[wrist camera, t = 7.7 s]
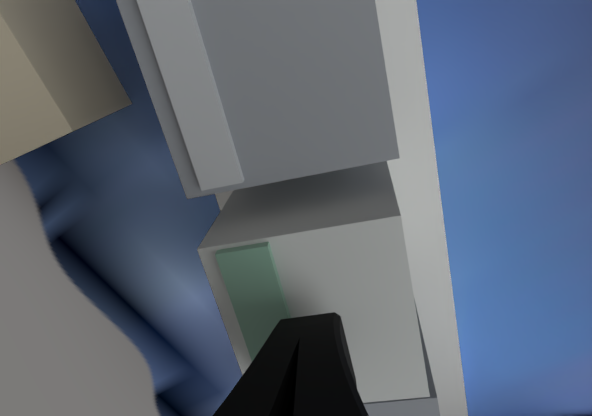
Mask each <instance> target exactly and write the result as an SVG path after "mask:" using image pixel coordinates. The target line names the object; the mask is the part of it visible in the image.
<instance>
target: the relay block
mask: <svg viewBox="0 0 592 416" xmlns="http://www.w3.org/2000/svg"><path fill="white" fill-rule="evenodd" d="M131 104H132V102H131V101H130V99H129V97H128V95H127V93H126V92H125V90H124V88H123V86H122V84H121V83H120V81H119V79H118V77H117V75H116V74H115V72H114V70H113V68H112V66H111V65H110V63H109V61H108V59H107V57H106V56H105V54H104V52H103V50H102V49H101V47H100V45H99V43H98V41H97V40H96V38H95V36H94V34H93V32H92V31H91V29H90V27H89V25H88V23H87V22H86V20H85V18H84V16H83V14H82V13H81V11H80V9H79V7H78V5H77V4H76V2H75V0H0V165H2V164H4V163H6V162H8V161H10V160H13V159H15V158H17V157H19V156H21V155H23V154H26V153H28V152H30V151H32V150H34V149H37V148H39V147H41V146H43V145H45V144H47V143H50V142H52V141H54V140H56V139H58V138H60V137H62V136H65V135H67V134H69V133H71V132H73V131H75V130H77V129H80V128H82V127H84V126H86V125H88V124H90V123H92V122H95V121H97V120H99V119H101V118H103V117H105V116H107V115H110V114H112V113H114V112H116V111H118V110H120V109H122V108H125V107H127V106H129V105H131Z"/></svg>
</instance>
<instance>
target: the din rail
mask: <svg viewBox="0 0 592 416" xmlns="http://www.w3.org/2000/svg"><path fill="white" fill-rule="evenodd" d="M116 2H117V4H118V7H119V10H120V13H121V16H122V18H123V21H124V24H125V27H126V30H127V32H128V35H129V38H130V41H131V44H132V46H133V49H134V52H135V55H136V58H137V60H138V63H139V66H140V69H141V72H142V74H143V77H144V80H145V83H146V86H147V88H148V91H149V94H150V97H151V100H152V102H153V105H154V108H155V111H156V114H157V116H158V119H159V122H160V125H161V128H162V130H163V133H164V136H165V139H166V142H167V144H168V147H169V150H170V153H171V156H172V158H173V161H174V164H175V167H176V170H177V172H178V175H179V178H180V181H181V184H182V186H183V189H184V192H185V195H186V198H187V199H191V198H196V197H201V196H206V195H211V194H215V196H216V199H217V202H218V205H219V208H220V211H221V210H222V208H223V207H224V205H225V203H226V202H227V200H228V199H229V197H230V195H231V194H232V192H233V190H237V189H243V188H248V187H253V186H258V185H263V184H269V183H274V182H279V181H284V180H289V179H295V178H300V177H305V176H310V175H315V174H321V173H326V172H331V171H336V170H341V169H347V168H352V167H357V166H362V165H367V164H373V163H378V162H383V161H387V164H388V168H389V172H390V176H391V179H392V183H393V187H394V191H395V195H396V199H397V203H398V206H399V210H400V214H401V220H402V226H403V232H404V238H405V245H406V251H407V257H408V263H409V269H410V276H411V282H412V288H413V294H414V301H415V307H416V313H417V319H418V325H419V332H420V338H421V344H422V350H423V357H424V363H425V369H426V375H427V381H428V388H429V394H430V397H421V398H410V399H399V400H388V401H377V402H366V403H363V404H364V406H365V409H366V411H367V413H368V415H369V416H468V411H467V403H466V395H465V387H464V379H463V371H462V363H461V355H460V347H459V339H458V331H457V323H456V315H455V307H454V299H453V291H452V283H451V275H450V267H449V259H448V251H447V243H446V235H445V227H444V219H443V211H442V203H441V195H440V187H439V179H438V171H437V163H436V155H435V147H434V139H433V131H432V123H431V115H430V107H429V99H428V91H427V83H426V75H425V67H424V59H423V51H422V43H421V35H420V27H419V19H418V11H417V3H416V0H116Z"/></svg>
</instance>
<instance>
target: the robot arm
mask: <svg viewBox="0 0 592 416" xmlns="http://www.w3.org/2000/svg"><path fill="white" fill-rule="evenodd" d="M213 416H369V415H368V413H367V411H366V409H365V406H364V404H363V402H362V400H361V397H360V395H359V392H358V390H357V384H356V377H355V373H354V369H353V365H352V361H351V357H350V353H349V349H348V344H347V340H346V336H345V332H344V328H343V324H342V320H341V316H340V315H338V314H337V313H335V312H332V313H325V314H317V315H310V316H302V317H295V318H287V319H281V320H280V321H279V322H278V323H277V325H276V326H275V328H274V329H273V331H272V332H271V334H270V335H269V337H268V338H267V340H266V341H265V343H264V345H263V346H262V348H261V349H260V351H259V352H258V354H257V355H256V357H255V358H254V360H253V361H252V363H251V364H250V366H249V367H248V368H247V370H246V371H245V373H244V374H243V376H242V377H241V378H240V380H239V381H238V383H237V384H236V385H235V387H234V388H233V390H232V391H231V393H230V394H229V395H228V397H227V398H226V399H225V401H224V402H223V403H222V404H221V406H220V407H219V408H218V410H217V411H216V412H215V413H214V415H213Z"/></svg>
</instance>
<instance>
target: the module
mask: <svg viewBox="0 0 592 416" xmlns="http://www.w3.org/2000/svg"><path fill="white" fill-rule="evenodd" d="M197 251H198V253H199V256H200V259H201V262H202V264H203V267H204V270H205V273H206V275H207V278H208V281H209V284H210V287H211V289H212V292H213V295H214V298H215V300H216V303H217V306H218V309H219V311H220V314H221V317H222V320H223V323H224V325H225V328H226V331H227V334H228V336H229V339H230V342H231V345H232V347H233V350H234V353H235V356H236V358H237V361H238V364H239V367H240V370H241V372H242V375H243V374H244V373H245V371H246V370H247V368H248V367H249V366H250V364H251V363H252V361H253V360H254V358H255V357H256V355H257V354H258V352H259V351H260V349H261V348H262V346H263V345H264V343H265V341H266V340H267V338H268V337H269V335H270V334H271V332H272V331H273V329H274V328H275V326H276V325H277V323H278V322H279V321H280V320H281V319H287V318H295V317H302V316H310V315H317V314H325V313H332V312H335V313H337V314H338V315H340V316H341V320H342V324H343V328H344V332H345V336H346V340H347V344H348V349H349V353H350V357H351V361H352V365H353V369H354V373H355V377H356V384H357V390H358V392H359V395H360V397H361V400H362V402H363V403H366V402H377V401H388V400H399V399H410V398H421V397H430V394H429V388H428V381H427V375H426V369H425V363H424V357H423V350H422V344H421V338H420V332H419V325H418V319H417V313H416V307H415V301H414V294H413V288H412V282H411V276H410V269H409V263H408V257H407V251H406V245H405V238H404V232H403V226H402V220H401V214H400V210H399V206H398V203H397V199H396V195H395V191H394V187H393V183H392V179H391V176H390V172H389V168H388V164H387V161H383V162H378V163H373V164H367V165H362V166H357V167H352V168H347V169H341V170H336V171H331V172H326V173H321V174H315V175H310V176H305V177H300V178H295V179H289V180H284V181H279V182H274V183H269V184H263V185H258V186H253V187H248V188H243V189H237V190H233V192H232V194H231V195H230V197H229V199H228V200H227V202H226V203H225V205H224V207H223V208H222V210H221V211H220V213H219V215H218V216H217V218H216V220H215V221H214V223H213V224H212V226H211V228H210V229H209V231H208V232H207V234H206V236H205V237H204V239H203V240H202V242H201V244H200V245H199V247H198V249H197Z"/></svg>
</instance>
